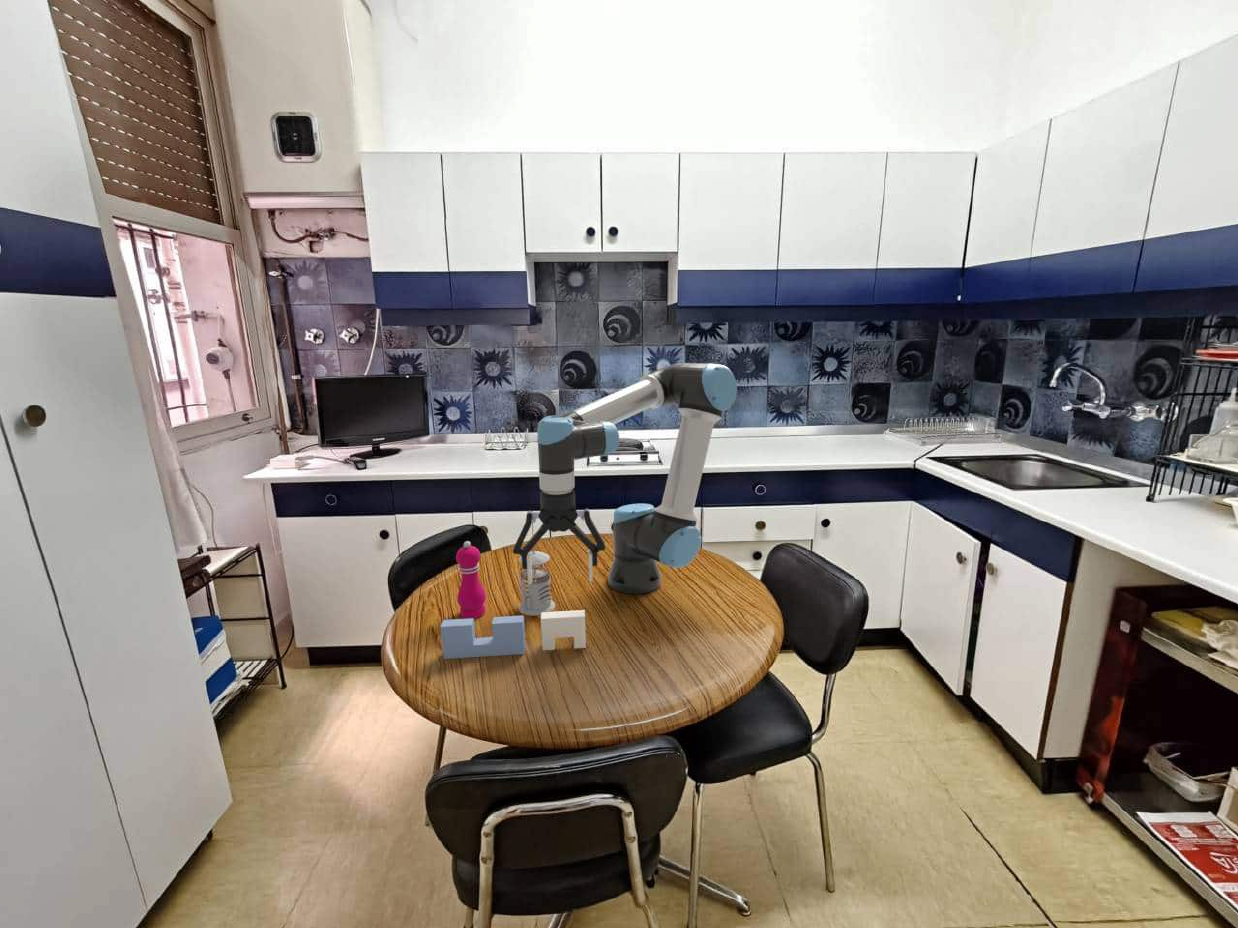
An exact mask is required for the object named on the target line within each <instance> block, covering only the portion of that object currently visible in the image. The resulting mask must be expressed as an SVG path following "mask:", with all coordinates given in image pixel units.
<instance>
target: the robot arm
mask: <svg viewBox="0 0 1238 928" xmlns="http://www.w3.org/2000/svg"><path fill="white" fill-rule="evenodd" d="M737 386H738V385H737V381H736V379H735V374H734V373H733V372H732V371H731V369H730V368H729V367H727V366H726V365H723V364H718V363H712V362H710V363H706V362H705V363H703V362H702V363H699V362H698V363H695V362H693V363H692V362H676V363H674V364H669V365H666V366H664V367H661V368H659V369H657V370H654V371H652V372H649V373H647V374H645V375H643V376H641V378H640V379H639V380H638V382H636V383H634V384H632V385H631V384H630V385H629V386H627V387H624V388H622V389H620V390H618V391H615V392H613V393H611V394H609V395H608V394H607V395H606V396H604V397H602V398H600V399H597V400H594V401H593V402H590V403H588V404H585V405H583V406H581V407H579V408H576V409H573V410H572V411H568V412H567V413H564V414H562V415H559V416H558V415H547V416H544V417H543V418H542V419H541V420H540V421H539V422H538V423H537V429H536V432H537V439H536V443H537V452H538V454H537V455H538V468H539V469H538V474H539V475H538V477H539V480H538V481H539V489H540V490H541V491H540V492H539V499H540V510H539V512H535V511H533V510H531V509H529V510H527V512H526V516H525V517H526V518H525V522H524V525H523V527H522V529H521V531H520V533H519V536H518V537H517V540H516V542H515V544H514V546H513V550H512V553H513V555H520V557H521V556H522V564H521V567H522V569H524V570H526V569H527V572H528V580H527V582H528V584H532V582H533V580H532V567H533V566H532V561H531V552H532V550H533V547H534V548H535V546H536V545H537V543H538V542H539V541H540V540H541V539H542V538H543V536H544V535H545V534H546V533H547V532H548V531H550V532H551V533H556V532H566V531H570V532H571V533H572V534H574V535H575V536H576V537H577V538H578V539H579V540H580V541H581V542H582V544H583V545H584V546H586V548H587V549H588V551H587V552H588V555H587V556H588V580H589V581H588V582H594V581H593V580H594V579H593V567H597V566H598V553H599V552H600V551H605V550H606V545H605V541H604V540H603V538H602V536H601V535H600V532H599V531H598V529H597V527H596V525H595V524H594V521H593V520H592V518H591V515H590V514H591V513H590V512H591V511H590V509H589V508H588V507H585V508H584V509H583V510H577V508H576V491H575V490H574V488H575V485H576V484H575V482H576V481H575V461H577V460H582V459H589V458H594V457H600V456H602V457H604V456H605V455H610V454H612V453H614V452H615V451H616V450H617V449H618V447H619V444H620V433H619V430H618V428H617V426H616V424H618V423H620V422H622V421H624V420H626V419H629V418H631V417H633V416H635V415H637V414H639V413H641V412H643V411H646V410H648V409H658V408H661V407H663V406H669V405H670V406H671V405H674V406H675V405H676V406H677V405H678V408H677V410H678V412H679V414H680V415H681V420H680V426H679V430H678V432H677V433H678V434H677V437H676V443H675V446H674V450H673V454H672V458H671V463H670V468H669V472H668V474H667V479H666V483H665V487H664V488H665V489H664V492H663V496H662V501H661V504H660V505H659V506H657V507H655V506H654V505H653V504H650V503H631V504H626V505H621V506H620V507H618V508H617V507H616V509H615V510H614V512H613V521H612V525H613V526H612V530H613V555H614V557H613V561H612V562H611V563H612V564H611V566H610V570H609V573H608V585H609V587H610V588H611V589H613V590H615V591H617V592H620V593H624V594H629V595H630V594H637V595H638V594H645V593H651V592H652V591H654V590H656V589H658V588H659V587H660V585H661V578H662V577H661V576H662V575H661V572H660V570H659V566H658V563H657V562H659V563H660V564H662V565H664V566H668V567H671V568H676V569H681V568H685V567H686V566H688V565H689V564H690V563H692V562H693V561H694V560H695V558H696V557H697V555H698V554H699V551H700V549H701V547H702V542H703V541H702V536H701V535H702V534H701V531H700V530H699V529H698V528H697V527H696V525H697V521H698V518H697V516H696V515H695V513H694V509H695V506H696V505H695V504H696V500H697V496H698V492H699V488H700V485H701V481H702V480H701V479H702V475H703V471H704V466H705V463H706V458H707V454H708V450H709V445H710V442H711V439H712V434H713V429H714V425H715V423H717V422H719V421H720V420H722V417H723V413H724V411H727V410H730V409H731V408H732V406H733V405H734V403H735V402H736V399H737V394H738V392H737V391H738V388H737ZM578 518H580V519H581V520H582V521H584V522H585V524H586V526H587V528H588V530H589V533H590V534H591V535H592V537H593V539H594V541H595V542H596V543H595V542H593V541H592V539H591V538H590V537H589V536H588V535H587V534H586V533H585V532H584V531H583V530H582V529H581V528H580V527H579V526H578V523H576V522H575V521H576V520H577V519H578ZM537 519H539V521H540V522H541V523H542V524H541V525H540V526H539V528H538V529H537V531H536V532H535V533H533V534H532V536H531V537H530V539H529V540H528V541H527V543H526V544H525V545H524V546H522V545H523V543H524V541H525V539H526V536H527V535H528V533H529V531H530V528H531V527H532V522H534V523H536V522H537ZM535 521H536V522H535Z"/></svg>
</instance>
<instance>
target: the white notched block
mask: <svg viewBox="0 0 1238 928" xmlns="http://www.w3.org/2000/svg"><path fill="white" fill-rule="evenodd" d="M540 628H541V644H542V647H541V648H542V651H554V650H556V639H558V638H559V639H560V638H562V639H563V638H573V649H586V648H587V637H586V636H587V634H586V632H587V631H586V609H579V610H560V611H559V610H558V611H557V610H556V611H550V612H541V615H540Z"/></svg>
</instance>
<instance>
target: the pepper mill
mask: <svg viewBox="0 0 1238 928" xmlns="http://www.w3.org/2000/svg"><path fill="white" fill-rule="evenodd" d="M471 543H472V542H471V541H469V540H467V541H464V543H463V546H462V547H461V548H459V549H458V551H457V552H456V555H455V560H456V563H457V564H458V565H459V566H458V572H460V575H461V584H460V587H459V588H458V589H459V590H458V592H457V596H456V597H457V598H456V599H457V600H456V601H457V604H458V606H460V610H459V611H460V617H462V619H470V618H474V619H478V618H481V617H482V616H483V615H484V614H485V613H486V605H485V604H484V603H485V602H486V600H487V594H486V593H487V592H486V590H485V588H484V586H483V585H482V583H481V581H480V578H479V572H478V571H479V570H480V564H479V562H480V559H481V553H480V550H479V549H478V547H475V546H472V544H471Z"/></svg>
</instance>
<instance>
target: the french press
mask: <svg viewBox="0 0 1238 928" xmlns="http://www.w3.org/2000/svg"><path fill="white" fill-rule="evenodd" d="M536 522H537V520H536V521H535V522H532V523H531V530H532V531H531V532H532V535H534V523H536ZM532 550H533V551H530V552H531V561H532V584H528V572H527V569H523V568H522V569H521V570H520V572H519V575H518V578H517V590H518V593H519V594H520V595H521V603H520V604H519V605H518V611H519V612H520V614H521V613H522V615H523V614H524V615H526V616H531V617H532V616H541V612H553V610H554V609H555V607H556V603H555V601H553V600H552V595H551V594H552V591H551V575H550V574H549V573H550V572H549V570H548V569H547V568H545V567H539V566H541V565H544V564H546V563H547V562H548V561H550V558H551V557H550V555H549V554H547V553H546V552H542V551H538V550H536V551H535V546H534V547H533V548H532ZM518 562H519V563H520V564H521V565H522V556H521V555H520V557H518ZM519 580H520V583H519ZM519 584H520V587H519Z"/></svg>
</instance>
